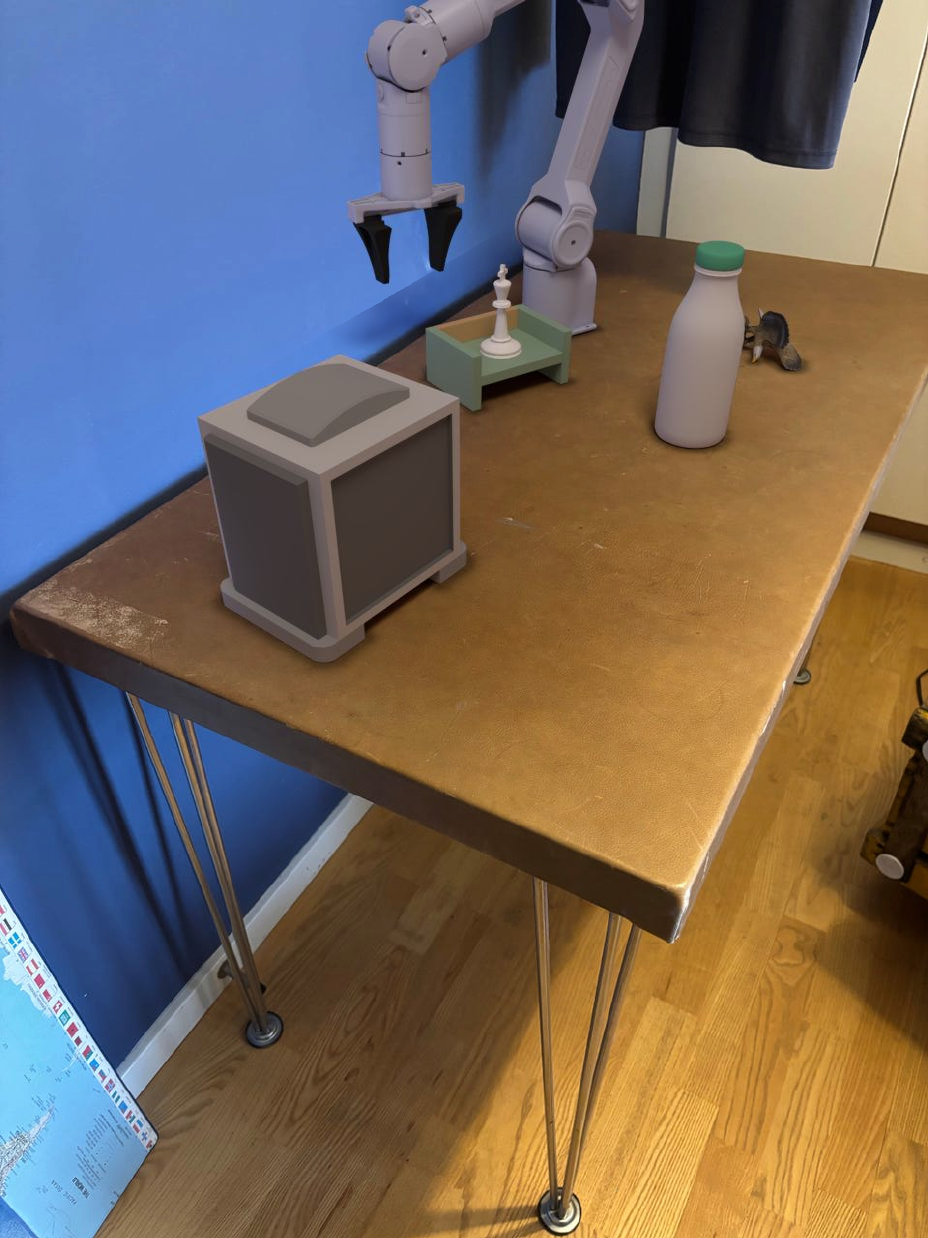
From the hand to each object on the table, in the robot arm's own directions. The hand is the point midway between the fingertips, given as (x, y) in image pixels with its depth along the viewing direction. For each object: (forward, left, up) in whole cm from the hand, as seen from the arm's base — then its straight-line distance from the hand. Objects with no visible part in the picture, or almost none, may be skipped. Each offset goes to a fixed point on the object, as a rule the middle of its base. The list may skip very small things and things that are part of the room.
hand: (410, 275), depth 109 cm
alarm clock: (+29, +37, -11) cm, 48 cm away
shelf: (-5, +12, -10) cm, 16 cm away
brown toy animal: (-37, +25, -11) cm, 46 cm away
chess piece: (-5, +12, -7) cm, 15 cm away
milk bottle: (-15, +34, -11) cm, 39 cm away
